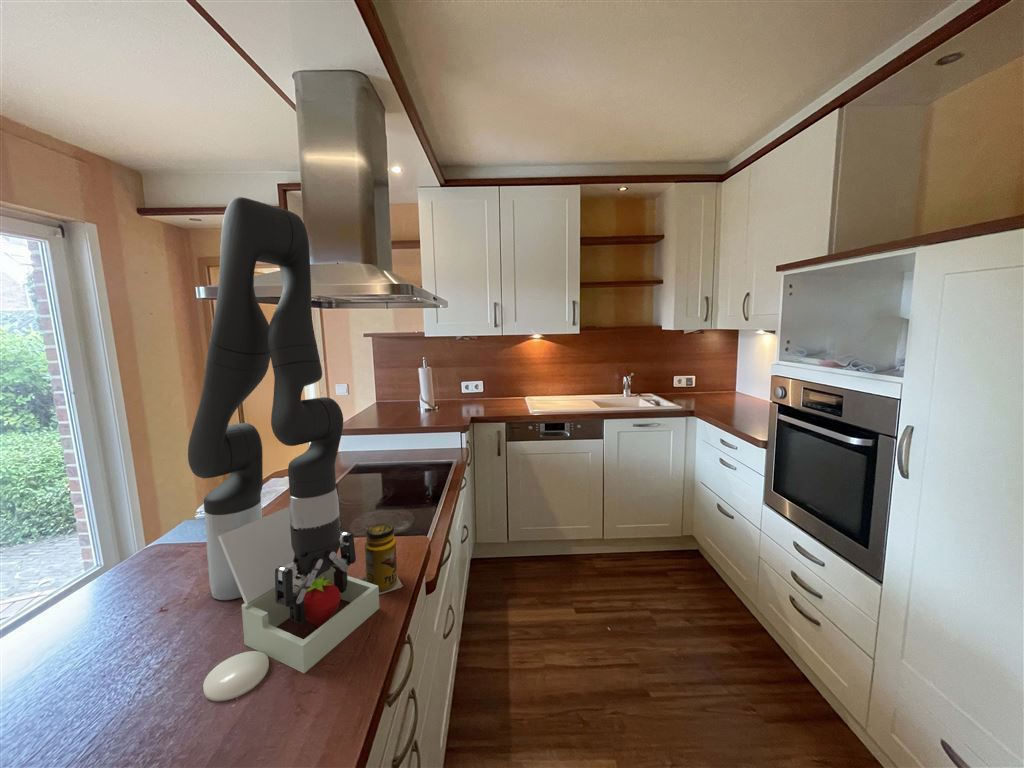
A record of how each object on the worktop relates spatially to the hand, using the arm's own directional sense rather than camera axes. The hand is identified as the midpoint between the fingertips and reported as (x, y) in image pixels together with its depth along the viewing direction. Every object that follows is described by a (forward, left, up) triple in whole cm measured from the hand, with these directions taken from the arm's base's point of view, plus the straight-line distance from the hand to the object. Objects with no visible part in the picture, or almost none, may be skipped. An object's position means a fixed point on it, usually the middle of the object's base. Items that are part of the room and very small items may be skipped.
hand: (320, 605), depth 69 cm
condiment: (0, +14, -4) cm, 14 cm away
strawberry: (0, 0, -4) cm, 4 cm away
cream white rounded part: (-3, -12, -4) cm, 13 cm away
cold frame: (-4, 0, -4) cm, 6 cm away
